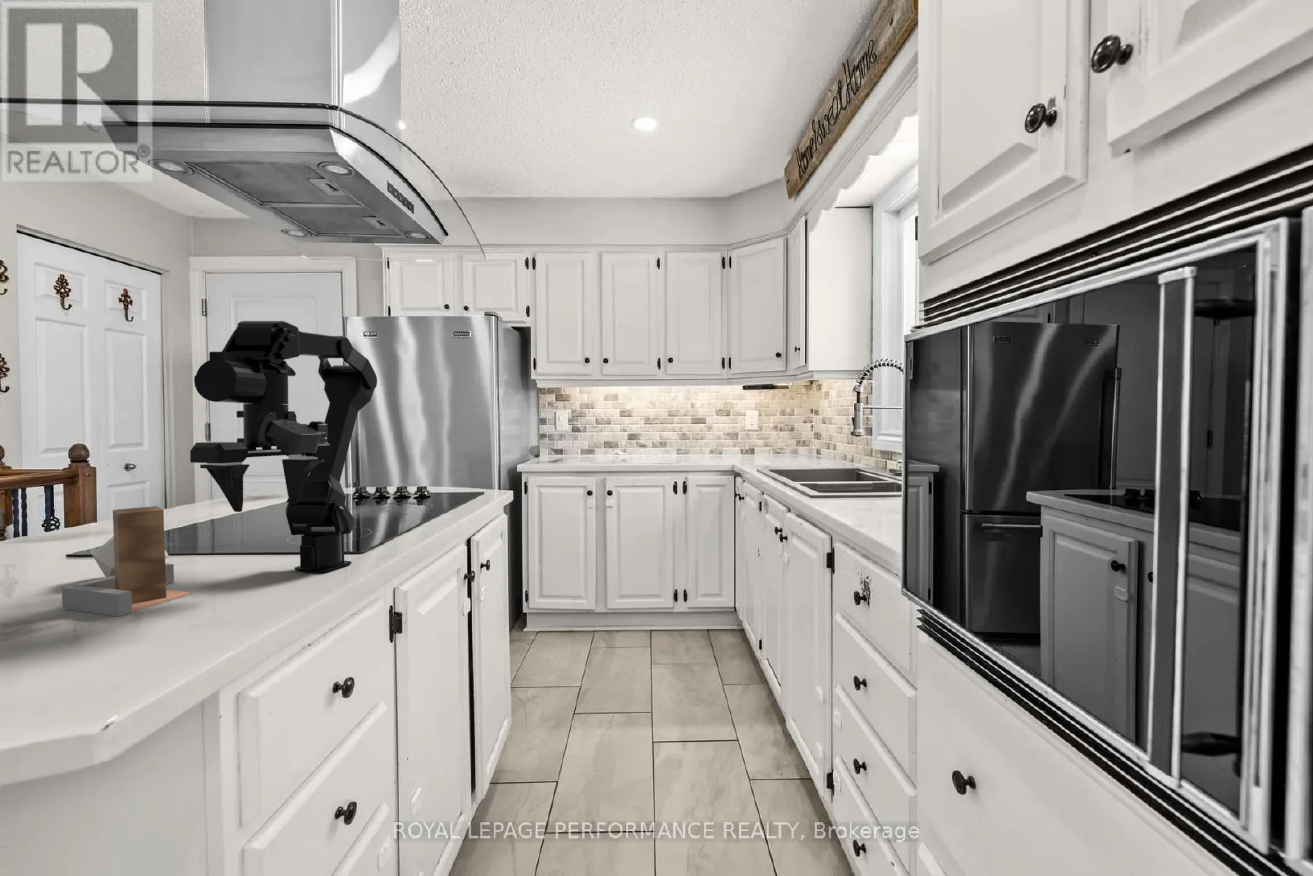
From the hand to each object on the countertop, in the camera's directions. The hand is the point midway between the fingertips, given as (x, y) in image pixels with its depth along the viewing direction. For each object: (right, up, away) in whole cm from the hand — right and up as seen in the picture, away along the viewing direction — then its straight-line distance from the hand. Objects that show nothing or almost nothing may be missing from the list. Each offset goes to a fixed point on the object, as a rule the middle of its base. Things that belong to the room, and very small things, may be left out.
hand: (267, 507), depth 90 cm
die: (-28, -13, +8) cm, 32 cm away
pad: (-16, -13, -3) cm, 21 cm away
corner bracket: (-17, -13, -2) cm, 21 cm away
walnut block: (-16, -13, -3) cm, 21 cm away
